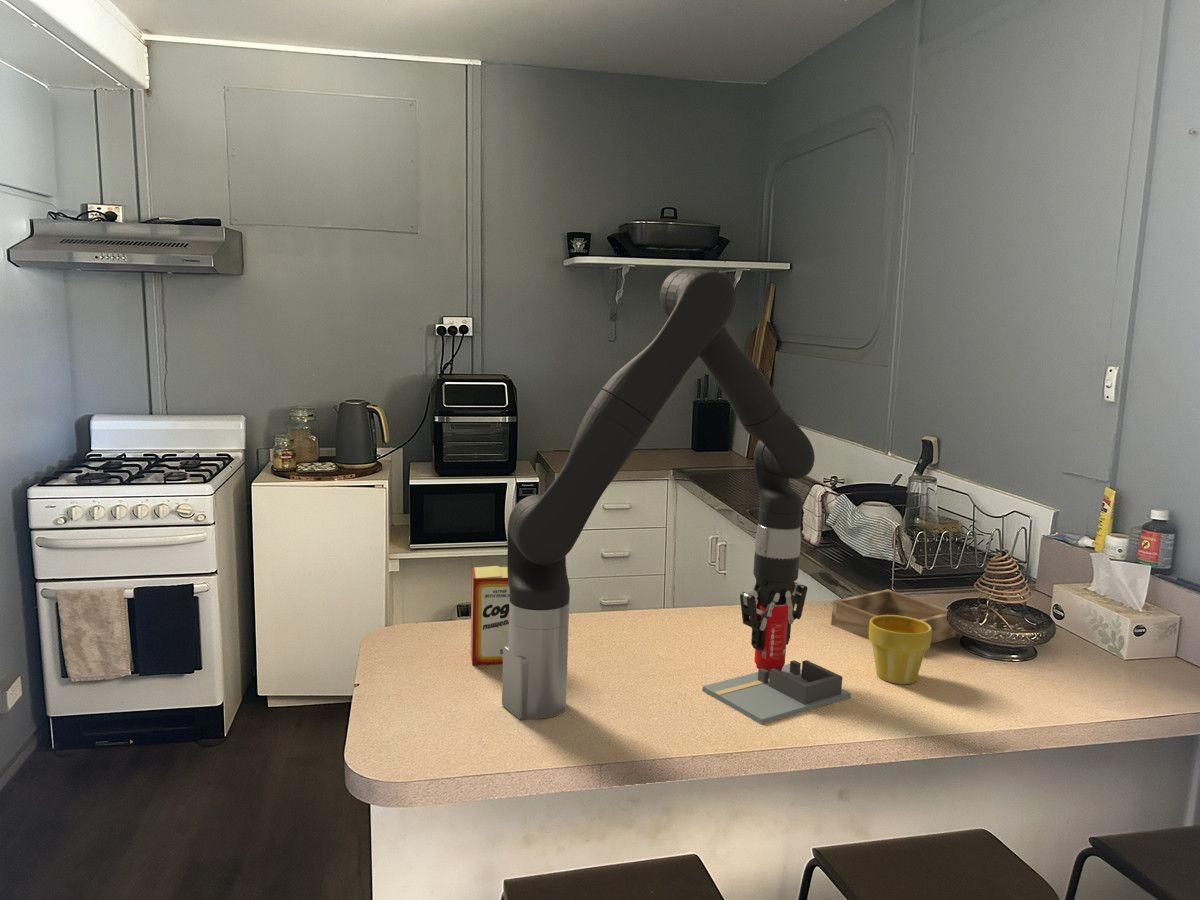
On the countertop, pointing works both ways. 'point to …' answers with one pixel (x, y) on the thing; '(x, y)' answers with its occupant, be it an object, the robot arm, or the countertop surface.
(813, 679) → the board
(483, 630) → the baking soda box
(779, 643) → the beverage can
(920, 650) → the plant pot
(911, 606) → the wooden tray
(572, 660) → the countertop surface
